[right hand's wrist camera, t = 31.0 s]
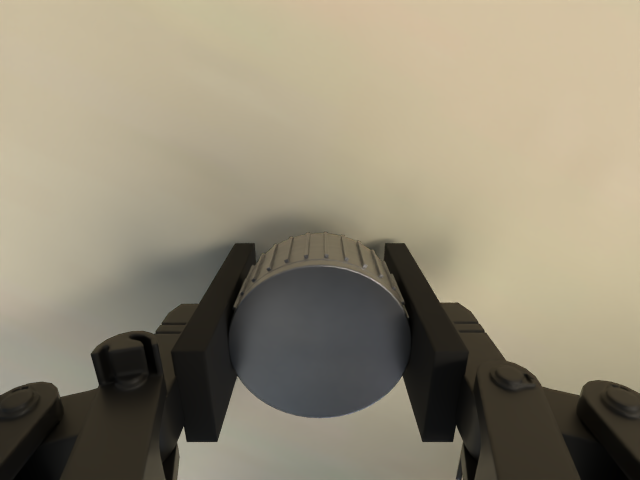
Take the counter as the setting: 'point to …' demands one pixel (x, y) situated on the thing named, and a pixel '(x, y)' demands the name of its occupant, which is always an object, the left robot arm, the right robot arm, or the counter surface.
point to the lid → (319, 327)
